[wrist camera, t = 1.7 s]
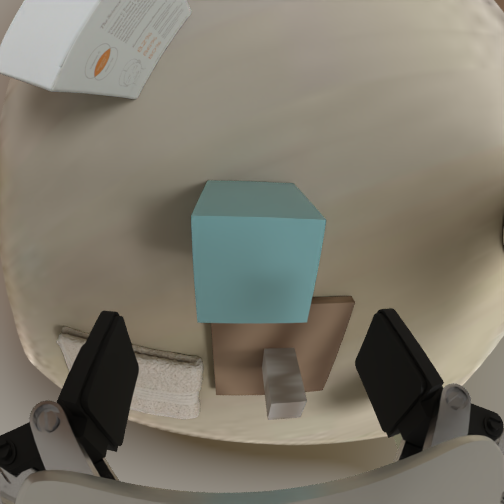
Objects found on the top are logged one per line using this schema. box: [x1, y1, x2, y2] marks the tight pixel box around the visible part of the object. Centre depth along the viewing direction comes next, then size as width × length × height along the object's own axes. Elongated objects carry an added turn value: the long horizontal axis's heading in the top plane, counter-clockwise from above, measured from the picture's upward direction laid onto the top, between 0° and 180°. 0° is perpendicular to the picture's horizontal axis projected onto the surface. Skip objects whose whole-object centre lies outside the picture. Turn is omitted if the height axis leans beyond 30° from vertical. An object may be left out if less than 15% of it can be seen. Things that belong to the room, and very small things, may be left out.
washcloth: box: [56, 326, 203, 419], centre depth 27 cm, size 12×18×3 cm, turn 79°
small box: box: [0, 0, 192, 99], centre depth 9 cm, size 8×6×10 cm
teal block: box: [191, 180, 326, 323], centre depth 17 cm, size 6×6×8 cm
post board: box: [211, 296, 355, 420], centre depth 24 cm, size 13×14×8 cm
